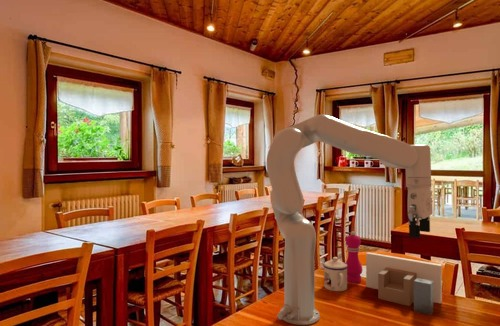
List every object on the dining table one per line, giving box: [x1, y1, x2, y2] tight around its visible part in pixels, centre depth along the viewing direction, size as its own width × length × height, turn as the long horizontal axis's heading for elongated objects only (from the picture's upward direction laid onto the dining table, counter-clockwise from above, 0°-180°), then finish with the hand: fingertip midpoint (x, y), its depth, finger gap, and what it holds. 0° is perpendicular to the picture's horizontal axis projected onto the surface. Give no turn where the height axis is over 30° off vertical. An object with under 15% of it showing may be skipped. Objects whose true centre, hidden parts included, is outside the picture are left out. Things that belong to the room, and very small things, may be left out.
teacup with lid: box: [323, 256, 348, 292], centre depth 139 cm, size 12×9×12 cm
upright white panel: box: [365, 252, 443, 307], centre depth 130 cm, size 11×26×13 cm, turn 51°
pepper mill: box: [345, 231, 363, 284], centre depth 149 cm, size 7×7×20 cm
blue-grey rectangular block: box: [413, 278, 434, 316], centre depth 119 cm, size 4×5×10 cm
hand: (419, 234), depth 120 cm, fingers open, 9 cm apart
